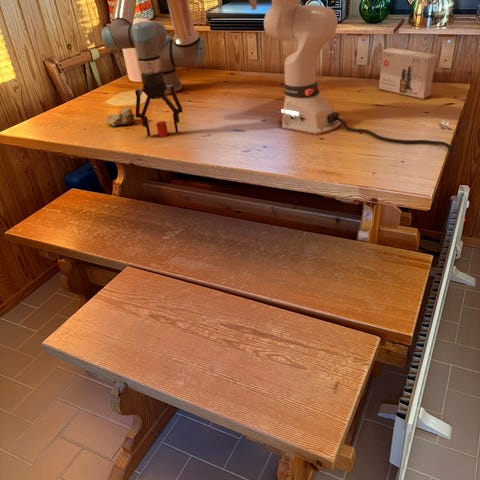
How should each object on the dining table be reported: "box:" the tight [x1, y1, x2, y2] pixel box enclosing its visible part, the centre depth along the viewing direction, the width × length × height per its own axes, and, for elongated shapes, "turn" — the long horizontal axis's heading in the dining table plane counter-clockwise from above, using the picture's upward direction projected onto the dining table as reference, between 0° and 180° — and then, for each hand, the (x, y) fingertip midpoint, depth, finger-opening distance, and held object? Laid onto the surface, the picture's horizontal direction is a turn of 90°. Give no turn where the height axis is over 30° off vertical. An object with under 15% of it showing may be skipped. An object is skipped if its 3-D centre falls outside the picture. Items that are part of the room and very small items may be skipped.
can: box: [156, 120, 169, 138], centre depth 172 cm, size 4×4×5 cm
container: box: [121, 17, 153, 83], centre depth 235 cm, size 21×21×28 cm
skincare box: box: [378, 47, 437, 100], centre depth 184 cm, size 21×6×16 cm, turn 40°
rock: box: [107, 106, 135, 127], centre depth 186 cm, size 11×6×10 cm
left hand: (162, 132), depth 172 cm, fingers open, 10 cm apart
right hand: (253, 7), depth 187 cm, fingers open, 8 cm apart
